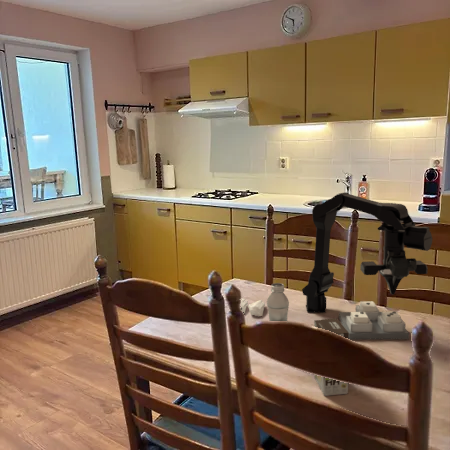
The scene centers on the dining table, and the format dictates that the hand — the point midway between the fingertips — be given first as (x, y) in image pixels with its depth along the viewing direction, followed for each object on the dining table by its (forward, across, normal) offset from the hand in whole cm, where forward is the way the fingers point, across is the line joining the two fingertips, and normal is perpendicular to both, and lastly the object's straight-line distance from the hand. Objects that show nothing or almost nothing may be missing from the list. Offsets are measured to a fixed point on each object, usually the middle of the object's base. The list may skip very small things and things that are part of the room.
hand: (392, 294), depth 136 cm
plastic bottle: (+13, -36, -10) cm, 40 cm away
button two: (+10, -10, 0) cm, 14 cm away
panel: (+13, -5, +4) cm, 14 cm away
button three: (+10, 0, 0) cm, 10 cm away
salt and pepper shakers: (+14, -44, +20) cm, 51 cm away
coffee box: (+13, -24, -30) cm, 41 cm away
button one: (+10, -5, +9) cm, 14 cm away
